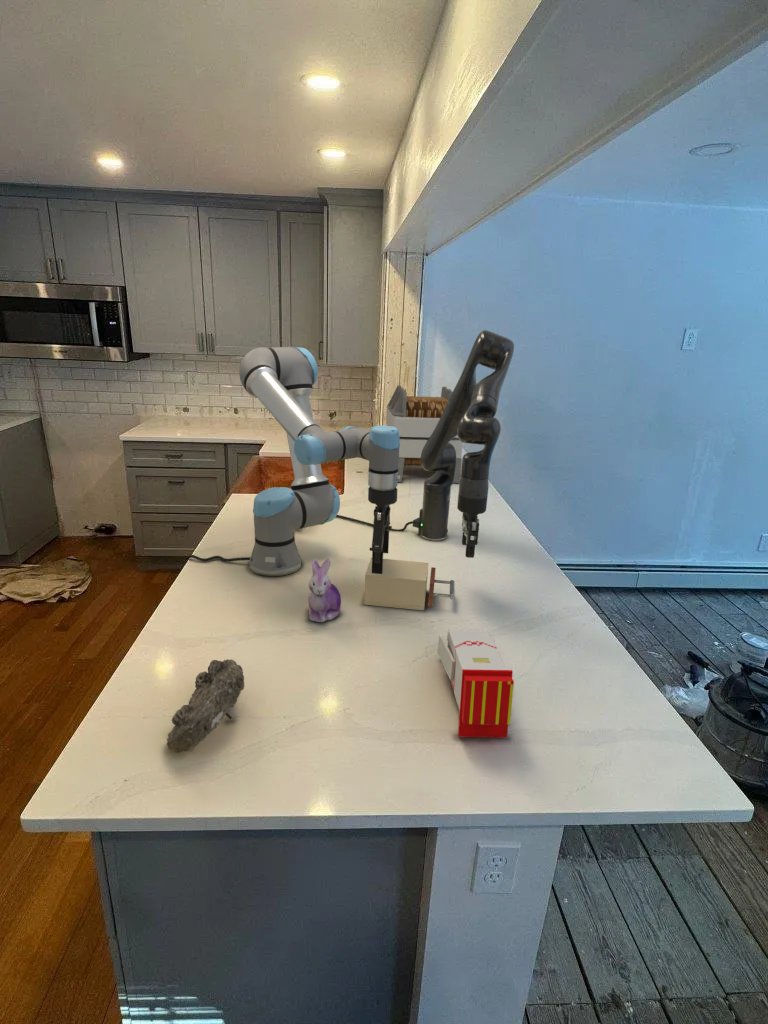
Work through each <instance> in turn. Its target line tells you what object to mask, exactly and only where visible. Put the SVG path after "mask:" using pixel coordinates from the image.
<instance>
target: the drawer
mask: <svg viewBox="0 0 768 1024" xmlns="http://www.w3.org/2000/svg"><path fill="white" fill-rule="evenodd" d="M436 569H437V568H436V567H432V566H431V567H430V577H429V587H428V588H429V589H428V600H427V607H429V608H432V607H433V605H434V604H433V603H434V597H439V598H440V597H441V598H442V597H443V598H449V599H450V600H454V599H455V597H456V596H455V595H456V594H455V592H456V590H455V587H456V586H455V585H456V584H455V580H453V579H451V580H441V579H436ZM435 584H445V585H449V594H448V593H440V592H439V593H437V592H435Z"/></svg>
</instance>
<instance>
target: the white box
mask: <svg viewBox="0 0 768 1024" xmlns="http://www.w3.org/2000/svg"><path fill="white" fill-rule="evenodd" d="M452 392H453V390H452V389H451V388H447V386H442V387H441V392H440V393H441V394H440V396H415V395H414V396H413V395H412V396H411V395H407V394H408V393H407V390H406V389H404V388H403V387H402V385H399V384H398V385H397V386H396V388H395V390H394V392H393V394H392V395H391V398H390V400H389V402H388V404H387V405H386V413H385V414H386V415H385V423H386V426H393V427H396V428H397V429H398V430H399V438H400V447H399V464H398V474H397V475H400V479H398V483H402V482H403V475H404V469H405V466H406V467H407V466H411V467H412V466H413V467H415V466H416V467H417V466H418V467H422V466H421V461H420V458H421V452H422V450H423V447H424V446H425V444H426V442H427V441H428V439H429V438H430V436H431V434H432V433H433V431H434V429H435V428H436V426H437V424H438V422H439V420H440V418H441V416H442V414H443V411H444V409H445V407H446V404H447V402H448V400H449V398H450V396H451V394H452ZM449 443H451V444H452V445H453V446H454V448H455V450H456V467H455V474H454V481H453V484H455V483H456V484H459V483H460V478H461V470H462V459H463V457H462V453H463V444H464V443H463V442H462V441H461V440H460V439H459V437H458V435H457V436H455V437H454V438H453V439H452V440H451V441H450V442H449Z"/></svg>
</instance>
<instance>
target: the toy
mask: <svg viewBox="0 0 768 1024" xmlns="http://www.w3.org/2000/svg"><path fill="white" fill-rule="evenodd" d="M446 640H447V643H446V641H445V639H444V636H443V635H442V634H439V637H438V646H437V656H438V657H439V659H440V661H441V663H442V666H443V668H444V670H445V672H446V674H447V677H448V679H449V681H450V684H451V687H452V690H453V693H454V697H455V701H456V705H457V708H458V711H459V714H458V715H459V716H458V730H457V731H458V732H457V737H458V738H508V731H509V726H510V725H511V717H512V707H513V697H514V696H513V695H514V684H515V680H514V679H513V673H514V671H513V670H512V669H508V667H507V665H506V662H505V661H504V659H503V658H502V655H501V653H500V651H499V649H498V647H497V643H496V639H495V637H494V635H493V634H491V632H490V631H489V629H467V628H466V629H465V628H463V629H461V628H460V629H459V628H448V630H447V639H446Z"/></svg>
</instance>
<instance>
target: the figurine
mask: <svg viewBox="0 0 768 1024" xmlns="http://www.w3.org/2000/svg"><path fill="white" fill-rule="evenodd" d="M330 566H331V558H326V559H325V560H324V562H323V563H322V565H321V566H320V564H319V562H318V561H317V559H313V560H312V562H311V570H312V575H311V577H310V579H309V581H308V588H309V591H310V594H309V596H308V607H309V610H308V615H309V620H310V621H311V622H317V623H323V622H326V621H331V620H333V619H335V618H336V617H338V616H339V615H340V612H341V606H342V597H341V592H340V591H339V589H338V587H337V586H336V585H335V584H333V583H332V581H331V578H330V577H329V575H328V574H329V570H330Z"/></svg>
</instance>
